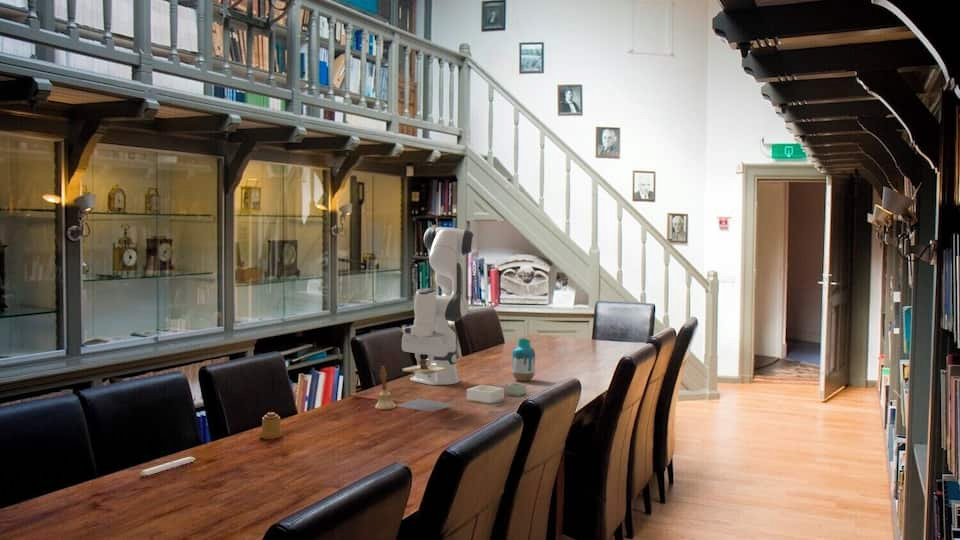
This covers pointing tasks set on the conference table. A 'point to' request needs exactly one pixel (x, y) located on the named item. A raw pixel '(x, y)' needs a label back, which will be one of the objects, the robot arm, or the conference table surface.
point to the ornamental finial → (271, 426)
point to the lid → (423, 368)
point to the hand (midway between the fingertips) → (424, 365)
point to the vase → (523, 360)
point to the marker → (167, 466)
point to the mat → (425, 405)
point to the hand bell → (384, 393)
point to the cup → (515, 389)
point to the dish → (485, 394)
